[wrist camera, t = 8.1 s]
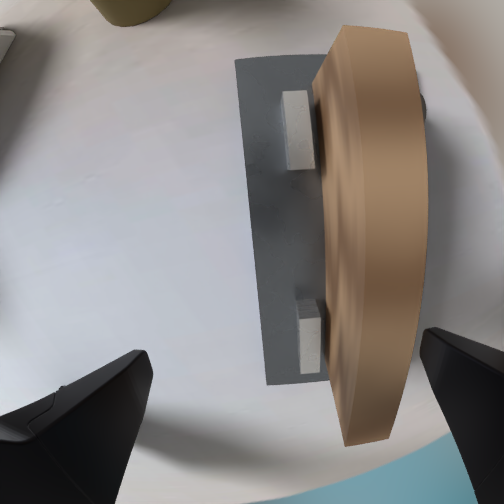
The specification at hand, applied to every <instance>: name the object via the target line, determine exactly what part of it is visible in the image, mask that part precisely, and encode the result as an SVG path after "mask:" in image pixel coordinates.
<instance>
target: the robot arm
mask: <svg viewBox="0 0 504 504" xmlns="http://www.w3.org/2000/svg"><path fill="white" fill-rule="evenodd" d="M420 358H421V360H422V363H423V366H424V368H425V371H426V374H427V377H428V379H429V382H430V385H431V388H432V390H433V393H434V395H435V397H436V399H437V401H438V403H439V406H440V408H441V410H442V412H443V414H444V416H445V419H446V421H447V423H448V425H449V428H450V430H451V432H452V435H453V437H454V439H455V442H456V444H457V446H458V449H459V452H460V454H461V457H462V459H463V462H464V464H465V467H466V469H467V472H468V475H469V477H470V480H471V483H472V486H473V489H474V490H475V491H474V492H475V495H476V498H477V501H478V504H504V352H503V351H500V350H497V349H495V348H492V347H489V346H486V345H484V344H481V343H478V342H475V341H473V340H470V339H467V338H465V337H462V336H459V335H456V334H454V333H451V332H448V331H445V330H443V329H440V328H437V327H432V328H427V329H425V330H424V332H423V336H422V341H421V346H420ZM152 379H153V370H152V366H151V363H150V360H149V357H148V354H147V352H146V351H145V350H132V351H131V352H129V353H127V354H125V355H123V356H121V357H120V358H118V359H116V360H114V361H112V362H110V363H109V364H107V365H105V366H103V367H101V368H99V369H97V370H96V371H94V372H92V373H90V374H88V375H86V376H84V377H82V378H81V379H79V380H77V381H75V382H73V383H71V384H69V385H67V386H65V387H64V386H61V387H60V388H59V390H58V391H56V393H55V392H54V393H52V394H50V395H48V396H46V397H44V398H42V399H40V400H38V401H36V402H34V403H31V404H29V405H27V406H24V407H22V408H20V409H17V410H15V411H12V412H10V413H7V414H5V415H2V416H0V504H115V501H116V498H117V495H118V492H119V488H120V485H121V482H122V479H123V476H124V473H125V470H126V467H127V464H128V460H129V457H130V454H131V451H132V448H133V446H134V443H135V440H136V437H137V434H138V431H139V428H140V425H141V422H142V420H143V416H144V413H145V409H146V405H147V401H148V396H149V392H150V387H151V383H152Z"/></svg>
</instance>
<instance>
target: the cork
mask: <svg viewBox="0 0 504 504" xmlns="http://www.w3.org/2000/svg"><path fill="white" fill-rule="evenodd" d="M90 1H91V2H92V3H93V4H94V6H95V7H96V8H97V9H98V10H99V12H100V13H101V14H102V15H103V16H104V18H105V19H106V20H107V21H108V22H110V23H111V24H112V25H115V26H120V27H127V26H135V25H137V24H140V23H143V22H146V21H148V20H149V19H151V18H153V17H155V16H156V15H158V14H159V13H160V12H161V11H162V10H164V9H165V8H166V7H167V6H168V5H169V4H170V2H171V1H172V0H90Z"/></svg>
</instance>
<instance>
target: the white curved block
mask: <svg viewBox="0 0 504 504" xmlns="http://www.w3.org/2000/svg"><path fill="white" fill-rule="evenodd" d="M3 29H4V27H0V63H1V61H2V59H3V57H4V56H5V54H6V52H7V50H8V48H9V47H10V45H11V43H12V41H13V40H14V38H15V36H16V35H15V34H14V33H13V32H12V31H9V30H3Z"/></svg>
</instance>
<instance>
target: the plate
mask: <svg viewBox="0 0 504 504" xmlns="http://www.w3.org/2000/svg"><path fill="white" fill-rule="evenodd" d="M326 56H327V55H282V56H266V57H255V58H245V59H236V60H235V68H236V78H237V88H238V98H239V108H240V118H241V128H242V138H243V148H244V158H245V168H246V178H247V188H248V198H249V208H250V218H251V228H252V239H253V249H254V259H255V269H256V279H257V289H258V300H259V310H260V320H261V330H262V341H263V351H264V361H265V372H266V382H267V385H282V384H296V383H308V382H318V381H327V380H330V379H329V375H328V371H327V367H326V363H325V334H326V261H325V230H324V208H323V191H322V177H321V164H320V152H319V141H318V131H317V122H316V113H315V104H314V96H313V88H312V82H313V80H314V79H315V77H316V75H317V73H318V71H319V69H320V67H321V65H322V63H323V62H324V60H325V58H326Z"/></svg>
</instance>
